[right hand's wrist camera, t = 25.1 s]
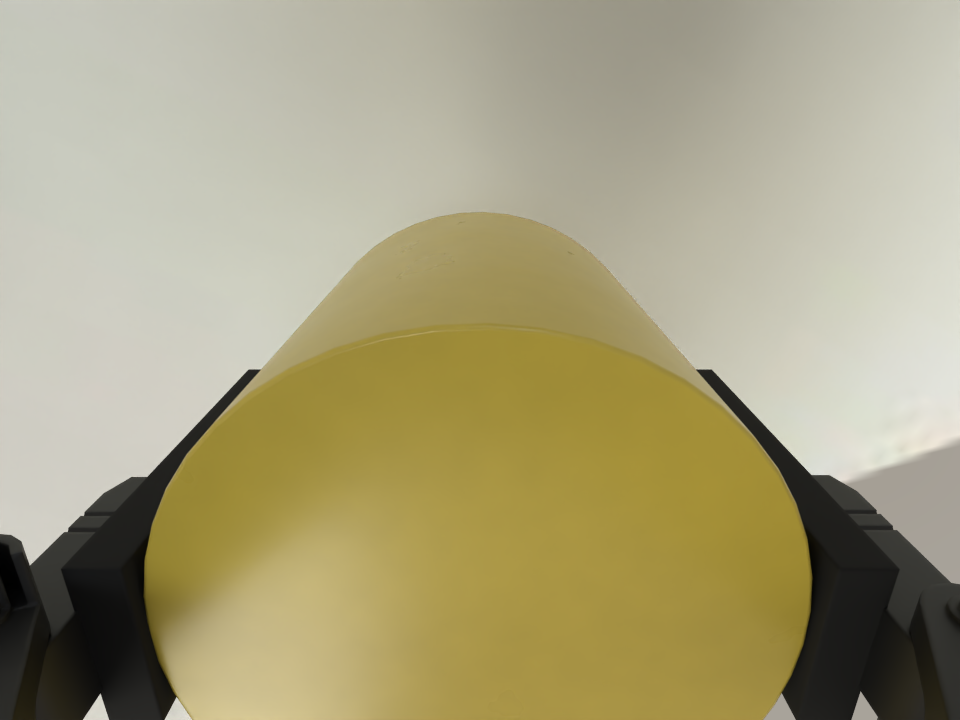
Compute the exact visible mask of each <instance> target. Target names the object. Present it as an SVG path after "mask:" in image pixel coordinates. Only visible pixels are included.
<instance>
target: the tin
mask: <svg viewBox="0 0 960 720" xmlns="http://www.w3.org/2000/svg"><path fill="white" fill-rule="evenodd" d="M811 595H812V571H811V563H810V555H809V547H808V540H807V536H806V533H805V530H804V526H803V523H802V520H801V517H800V514H799V510H798V507H797V504H796V502H795V500H794V498H793V496H792V494H791V492H790V490H789V488H788V486H787V484H786V482H785V480H784V479H783V477H782V475H781V473H780V471H779V469H778V467H777V466H776V465H775V463H774V462H773V461H772V459H771V458H770V457H769V455H768V454H767V453H766V451H765V450H764V449H763V447H762V446H761V445H760V443H759V442H758V441H757V439H756V438H755V437H754V435H753V434H752V433H751V432H750V431H749V430H748V429H747V427H746V426H745V425H744V424H743V423H742V422H741V421H740V419H739V418H738V417H737V416H736V415H735V414H734V413H733V412H732V410H731V409H730V408H729V407H728V406H727V405H726V404H725V402H724V401H723V400H722V399H721V398H720V397H719V396H718V394H717V393H716V392H715V391H714V390H713V389H712V388H711V386H710V385H709V384H708V383H707V382H706V381H705V380H704V379H703V377H702V376H701V375H700V374H699V373H698V372H697V371H696V369H695V368H694V367H693V366H692V365H691V364H690V363H689V361H688V360H687V359H686V358H685V357H684V356H683V355H682V354H681V352H680V351H679V350H678V349H677V348H676V347H675V346H674V344H673V343H672V342H671V341H670V340H669V339H668V338H667V336H666V335H665V334H664V333H663V332H662V331H661V330H660V328H659V327H658V326H657V325H656V324H655V323H654V322H653V321H652V319H651V318H650V317H649V316H648V315H647V314H646V313H645V311H644V310H643V309H642V308H641V307H640V306H639V305H638V303H637V302H636V301H635V300H634V299H633V298H632V297H631V296H630V294H629V293H628V292H627V291H626V290H625V289H624V288H623V286H622V285H621V284H620V283H619V282H618V281H617V280H616V278H615V277H614V276H613V275H612V274H611V273H610V272H609V270H608V269H607V268H606V267H605V266H604V265H603V264H602V263H601V262H600V261H599V260H598V259H597V258H596V257H595V256H594V255H593V254H592V253H591V252H589V251H588V250H586V249H585V248H584V247H582V246H581V245H580V244H578V243H577V242H576V241H574V240H573V239H571V238H569V237H568V236H566V235H564V234H562V233H560V232H559V231H557V230H555V229H553V228H551V227H548V226H545V225H543V224H540V223H538V222H535V221H532V220H529V219H525V218H521V217H516V216H512V215H508V214H498V213H487V212H476V213H458V214H452V215H447V216H441V217H436V218H433V219H430V220H426V221H423V222H420V223H417V224H414V225H412V226H410V227H408V228H406V229H404V230H401V231H399V232H397V233H395V234H393V235H392V236H390V237H389V238H387V239H386V240H384V241H382V242H381V243H379V244H378V245H376V246H375V247H374V248H373V249H371V250H370V251H369V252H368V253H367V254H366V255H365V256H363V257H362V258H361V259H360V260H359V261H358V262H357V263H356V264H355V265H354V266H353V267H352V268H351V270H350V271H349V272H348V273H347V274H346V275H345V276H344V277H343V279H342V280H341V281H340V282H339V283H338V284H337V285H336V286H335V287H334V289H333V290H332V291H331V292H330V293H329V294H328V295H327V296H326V298H325V299H324V300H323V301H322V302H321V303H320V304H319V305H318V307H317V308H316V309H315V310H314V311H313V312H312V313H311V314H310V315H309V317H308V318H307V319H306V320H305V321H304V322H303V323H302V324H301V326H300V327H299V328H298V329H297V330H296V331H295V332H294V333H293V335H292V336H291V337H290V338H289V339H288V340H287V341H286V342H285V343H284V345H283V346H282V347H281V348H280V349H279V350H278V351H277V352H276V354H275V355H274V356H273V357H272V358H271V359H270V360H269V361H268V363H267V364H266V365H265V366H264V367H263V368H262V369H261V370H260V371H259V373H258V374H257V375H256V376H255V377H254V378H253V379H252V380H251V382H250V383H249V384H248V385H247V386H246V387H245V388H244V389H243V391H242V392H241V393H240V394H239V395H238V396H237V397H236V398H235V399H234V401H233V402H232V403H231V404H230V405H229V406H228V407H227V408H226V410H225V411H224V412H223V413H222V414H221V415H220V416H219V417H218V419H217V420H216V421H215V422H214V423H213V424H212V425H211V427H210V428H209V429H208V430H207V431H206V432H205V434H204V435H203V436H202V437H201V438H200V439H199V441H198V442H197V443H196V444H195V445H194V446H193V448H192V449H191V450H190V451H189V452H188V453H187V455H186V456H185V458H184V460H183V461H182V463H181V465H180V466H179V468H178V469H177V471H176V473H175V474H174V476H173V478H172V479H171V481H170V483H169V484H168V486H167V488H166V490H165V492H164V495H163V497H162V500H161V502H160V505H159V507H158V510H157V513H156V515H155V518H154V520H153V523H152V527H151V532H150V537H149V542H148V547H147V551H146V556H145V567H144V602H145V609H146V616H147V621H148V625H149V630H150V633H151V637H152V641H153V644H154V648H155V651H156V655H157V658H158V662H159V664H160V666H161V668H162V670H163V672H164V674H165V676H166V678H167V680H168V682H169V684H170V686H171V688H172V690H173V692H174V694H175V695H176V696H177V698H178V699H179V701H180V702H181V704H182V705H183V707H184V708H185V710H186V711H187V713H188V714H189V715H190V717H191V718H192V720H763V719H764V718H765V717H766V715H767V714H768V713H769V712H770V710H771V709H772V708H773V706H774V705H775V703H776V702H777V700H778V698H779V696H780V695H781V693H782V691H783V689H784V688H785V686H786V684H787V683H788V681H789V679H790V677H791V676H792V673H793V670H794V668H795V665H796V663H797V660H798V658H799V655H800V652H801V650H802V647H803V645H804V640H805V636H806V631H807V626H808V622H809V617H810V613H811Z"/></svg>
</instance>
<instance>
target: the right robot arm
mask: <svg viewBox="0 0 960 720" xmlns="http://www.w3.org/2000/svg"><path fill="white" fill-rule="evenodd" d="M259 371H260V370H248V371H247V372H246V373H245V374H244V375H243V376H242V377H241V378H240V379H239V380H238V382H237V383H236V384H235V385H234V386H233V387H232V388H231V389H230V390H229V391H228V392H227V393H226V394H225V395H224V396H223V397H222V398H221V400H220V401H219V402H218V403H217V404H216V405H215V406H214V407H213V408H212V409H211V410H210V411H209V412H208V413H207V414H206V415H205V417H204V418H203V419H202V420H201V421H200V422H199V423H198V424H197V425H196V426H195V427H194V428H193V429H192V430H191V431H190V432H189V433H188V435H187V436H186V437H185V438H184V439H183V440H182V441H181V442H180V443H179V444H178V445H177V446H176V447H175V448H174V449H173V450H172V451H171V453H170V454H169V455H168V456H167V457H166V458H165V459H164V460H163V461H162V462H161V463H160V464H159V465H158V466H157V467H156V468H155V470H154V471H153V472H152V473H151V474H150V475H149V476H148V477H131V478H129V479H128V480H126V481H124V482H122V483H121V484H119V485H117V486H116V487H114V488H112V489H110V490H109V491H107V492H105V493H104V494H103V495H102V496H101V497H100V498H99V499H98V500H97V501H96V502H95V503H94V504H93V505H91V506H90V507H89V508H88V509H87V510H86V511H85V515H84V516H80V517H79V518H78V519H77V520H76V521H75V522H74V523H73V524H72V525H71V526H70V527H69V528H68V532H64V533H63V534H62V535H61V536H60V537H59V538H58V539H57V540H56V541H55V542H54V543H53V544H52V545H51V546H50V547H49V548H48V549H47V550H46V551H45V552H44V553H43V554H42V555H41V556H39V557H38V558H37V559H36V560H35V561H34V562H33V563H32V564H31V565H29V562H28V560H27V557H26V554H25V551H24V548H23V545H22V542H21V541H20V540H18V539H17V538H15V537H13V536H12V535H4V534H0V720H83V719H84V717H85V716H86V714H87V713H88V711H89V710H90V708H91V707H92V705H93V704H94V702H95V701H96V699H97V698H98V696H99V695H100V693H101V696H102V699H103V702H104V705H105V708H106V711H107V714H108V717H109V720H165V718H166V716H167V714H168V712H169V710H170V708H171V706H172V704H173V703H174V701H175V699H176V697H177V696H176V695H175V694H174V692H173V690H172V688H171V686H170V684H169V682H168V680H167V678H166V676H165V674H164V672H163V670H162V668H161V666H160V664H159V662H158V658H157V655H156V651H155V648H154V644H153V641H152V637H151V633H150V630H149V625H148V621H147V616H146V609H145V602H144V567H145V556H146V551H147V547H148V542H149V537H150V532H151V527H152V523H153V520H154V518H155V515H156V513H157V510H158V507H159V505H160V502H161V500H162V497H163V495H164V492H165V490H166V488H167V486H168V484H169V483H170V481H171V479H172V478H173V476H174V474H175V473H176V471H177V469H178V468H179V466H180V465H181V463H182V461H183V460H184V458H185V456H186V455H187V453H188V452H189V451H190V450H191V449H192V448H193V446H194V445H195V444H196V443H197V442H198V441H199V439H200V438H201V437H202V436H203V435H204V434H205V432H206V431H207V430H208V429H209V428H210V427H211V425H212V424H213V423H214V422H215V421H216V420H217V419H218V417H219V416H220V415H221V414H222V413H223V412H224V411H225V410H226V408H227V407H228V406H229V405H230V404H231V403H232V402H233V401H234V399H235V398H236V397H237V396H238V395H239V394H240V393H241V392H242V391H243V389H244V388H245V387H246V386H247V385H248V384H249V383H250V382H251V380H252V379H253V378H254V377H255V376H256V375H257V374H258V373H259ZM696 371H697V372H698V373H699V374H700V375H701V376H702V377H703V379H704V380H705V381H706V382H707V383H708V384H709V385H710V386H711V388H712V389H713V390H714V391H715V392H716V393H717V394H718V396H719V397H720V398H721V399H722V400H723V401H724V402H725V404H726V405H727V406H728V407H729V408H730V409H731V410H732V412H733V413H734V414H735V415H736V416H737V417H738V418H739V419H740V421H741V422H742V423H743V424H744V425H745V426H746V427H747V429H748V430H749V431H750V432H751V433H752V434H753V435H754V437H755V438H756V439H757V441H758V442H759V443H760V445H761V446H762V447H763V449H764V450H765V451H766V453H767V454H768V455H769V457H770V458H771V459H772V461H773V462H774V463H775V465H776V466H777V467H778V469H779V471H780V473H781V475H782V477H783V479H784V480H785V482H786V484H787V486H788V488H789V490H790V492H791V494H792V496H793V498H794V500H795V502H796V504H797V507H798V510H799V514H800V517H801V520H802V523H803V526H804V530H805V533H806V536H807V540H808V547H809V555H810V563H811V571H812V595H811V613H810V617H809V622H808V626H807V631H806V636H805V640H804V645H803V647H802V650H801V652H800V655H799V658H798V660H797V663H796V665H795V668H794V670H793V673H792V676H791V677H790V679H789V681H788V683H787V684H786V686H785V688H784V689H783V691H782V694H783V696H784V698H785V700H786V702H787V704H788V706H789V708H790V709H791V711H792V713H793V715H794V717H795V719H796V720H851V719H852V716H853V713H854V710H855V706H856V703H857V700H858V697H859V694H860V691H861V692H862V694H863V695H864V697H865V698H866V700H867V701H868V703H869V704H870V706H871V707H872V709H873V710H874V712H875V713H876V715H877V716H878V719H877V720H960V584H954V583H951V582H950V581H949V580H948V579H947V578H946V577H945V576H943V575H942V574H941V573H940V572H939V571H938V570H937V569H936V568H935V567H934V566H933V565H932V564H931V563H930V562H929V561H928V560H927V559H926V558H925V557H924V556H923V555H922V554H921V553H920V552H919V551H918V550H917V549H916V548H915V547H914V546H913V545H912V544H911V543H910V542H909V541H908V540H906V539H905V538H904V537H903V536H902V535H901V534H900V533H899V532H898V531H897V530H893V526H892V525H891V524H890V523H889V522H888V521H887V520H886V519H885V518H884V517H883V516H882V515H881V514H877V512H876V509H875V508H874V507H873V506H872V505H871V504H870V503H869V502H867V501H866V500H865V499H864V498H863V497H862V496H861V495H860V494H859V493H858V492H857V491H856V490H854V489H852V488H850V487H849V486H847V485H845V484H843V483H842V482H840V481H838V480H837V479H835V478H833V477H831V476H830V475H811V474H810V473H809V472H808V471H807V470H806V469H805V468H804V467H803V466H802V465H801V464H800V463H799V462H798V461H797V460H796V458H795V457H794V456H793V455H792V454H791V453H790V452H789V451H788V450H787V449H786V448H785V447H784V446H783V445H782V444H781V443H780V442H779V440H778V439H777V438H776V437H775V436H774V435H773V434H772V433H771V432H770V431H769V430H768V429H767V428H766V427H765V426H764V425H763V423H762V422H761V421H760V420H759V419H758V418H757V417H756V416H755V415H754V414H753V413H752V412H751V411H750V410H749V409H748V408H747V407H746V405H745V404H744V403H743V402H742V401H741V400H740V399H739V398H738V397H737V396H736V395H735V394H734V393H733V392H732V391H731V390H730V389H729V387H728V386H727V385H726V384H725V383H724V382H723V381H722V380H721V379H720V378H719V377H718V376H717V375H716V374H715V373H714V372H713V371H712V370H696Z"/></svg>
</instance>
